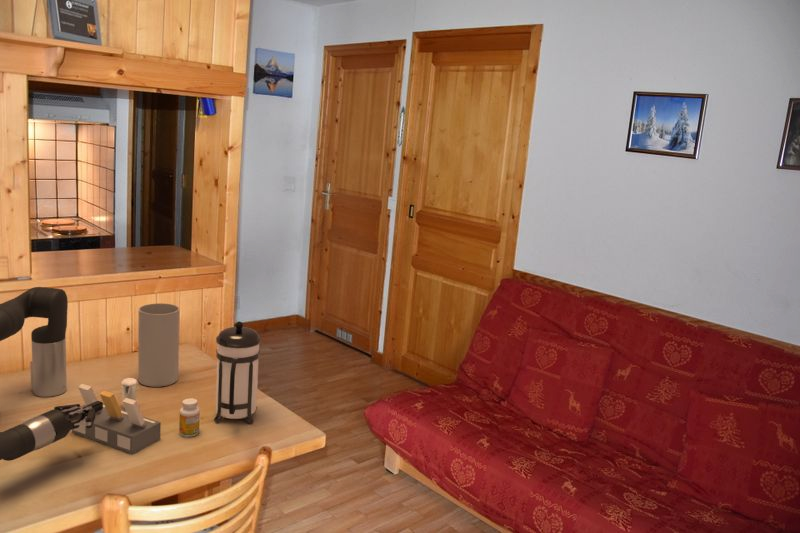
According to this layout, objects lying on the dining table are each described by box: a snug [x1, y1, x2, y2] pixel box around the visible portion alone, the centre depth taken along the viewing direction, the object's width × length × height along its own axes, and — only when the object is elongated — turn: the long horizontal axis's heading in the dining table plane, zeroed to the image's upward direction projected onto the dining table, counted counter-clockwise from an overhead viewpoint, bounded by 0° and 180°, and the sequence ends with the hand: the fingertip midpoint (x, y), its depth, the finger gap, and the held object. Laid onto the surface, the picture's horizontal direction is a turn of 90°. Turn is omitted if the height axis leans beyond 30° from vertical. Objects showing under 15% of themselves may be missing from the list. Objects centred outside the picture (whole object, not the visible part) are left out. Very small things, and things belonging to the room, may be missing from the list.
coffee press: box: [213, 321, 262, 425], centre depth 194 cm, size 17×16×30 cm
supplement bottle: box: [178, 397, 201, 438], centre depth 185 cm, size 5×5×10 cm
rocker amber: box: [99, 390, 124, 420], centre depth 177 cm, size 4×1×9 cm, turn 67°
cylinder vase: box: [137, 302, 180, 388], centre depth 216 cm, size 12×12×25 cm
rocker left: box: [77, 383, 102, 413], centre depth 180 cm, size 4×1×9 cm, turn 67°
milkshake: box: [120, 377, 139, 410], centre depth 197 cm, size 5×5×10 cm
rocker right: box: [122, 398, 146, 428], centre depth 174 cm, size 4×1×9 cm, turn 67°
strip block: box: [71, 403, 162, 455], centre depth 180 cm, size 22×10×5 cm, turn 67°
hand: (100, 404), depth 173 cm, fingers closed
